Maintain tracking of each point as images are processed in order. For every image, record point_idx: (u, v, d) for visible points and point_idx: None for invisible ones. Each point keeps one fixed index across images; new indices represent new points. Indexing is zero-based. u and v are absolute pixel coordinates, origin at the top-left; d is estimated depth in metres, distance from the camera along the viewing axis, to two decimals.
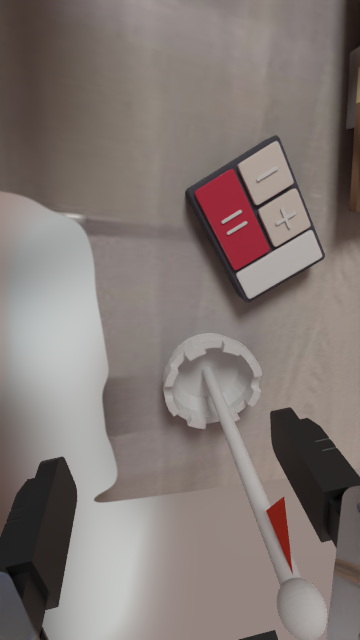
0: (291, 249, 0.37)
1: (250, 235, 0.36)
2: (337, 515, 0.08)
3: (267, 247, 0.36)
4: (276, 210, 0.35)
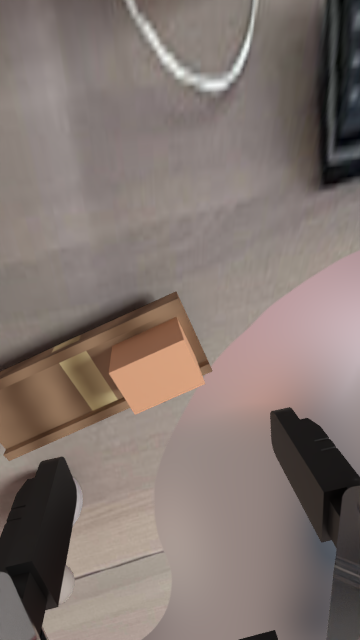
0: None
1: None
2: (337, 515, 0.08)
3: None
4: None
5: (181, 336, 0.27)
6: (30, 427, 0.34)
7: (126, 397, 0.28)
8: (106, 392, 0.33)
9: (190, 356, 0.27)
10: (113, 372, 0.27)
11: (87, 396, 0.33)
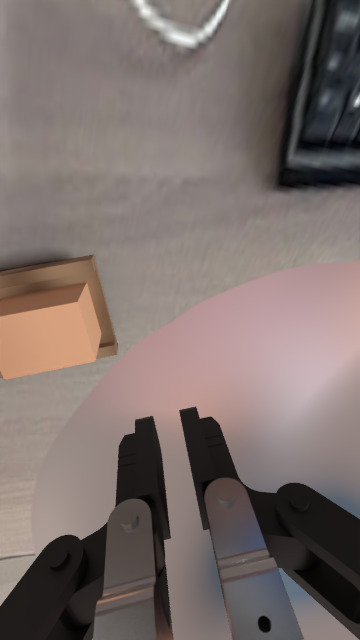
0: None
1: None
2: (205, 504, 0.09)
3: None
4: None
5: (77, 299, 0.23)
6: None
7: None
8: None
9: (82, 324, 0.23)
10: None
11: None
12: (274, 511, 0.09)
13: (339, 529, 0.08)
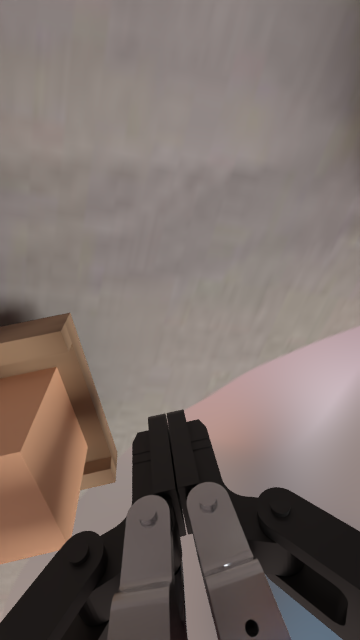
0: None
1: None
2: None
3: None
4: None
5: (23, 436, 0.10)
6: None
7: None
8: None
9: (36, 490, 0.11)
10: None
11: None
12: (256, 516, 0.09)
13: (321, 531, 0.08)
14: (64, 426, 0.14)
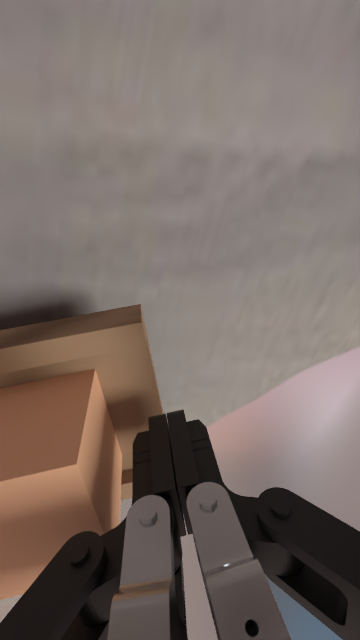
0: None
1: None
2: None
3: None
4: None
5: (76, 446, 0.09)
6: None
7: None
8: None
9: (89, 507, 0.09)
10: None
11: None
12: (256, 516, 0.09)
13: (321, 532, 0.08)
14: (105, 433, 0.13)
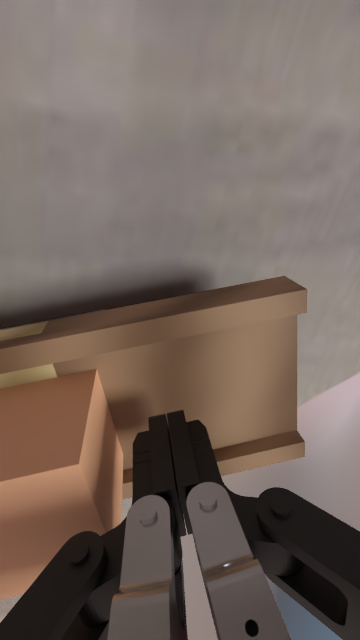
0: None
1: None
2: None
3: None
4: None
5: (78, 446, 0.09)
6: None
7: None
8: None
9: (91, 507, 0.09)
10: None
11: None
12: (256, 516, 0.09)
13: (321, 532, 0.08)
14: (106, 433, 0.13)
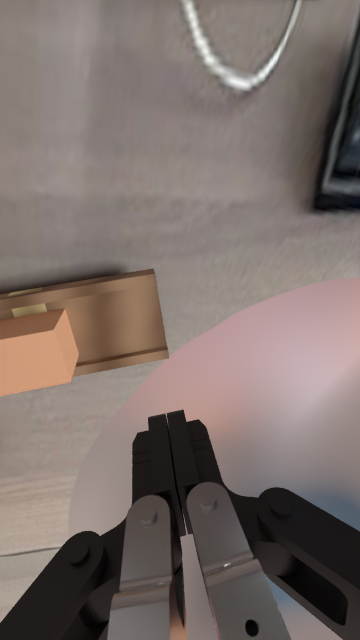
0: None
1: None
2: None
3: None
4: None
5: (53, 326, 0.26)
6: None
7: None
8: None
9: (58, 349, 0.26)
10: None
11: None
12: (256, 516, 0.09)
13: (321, 531, 0.08)
14: (68, 335, 0.29)
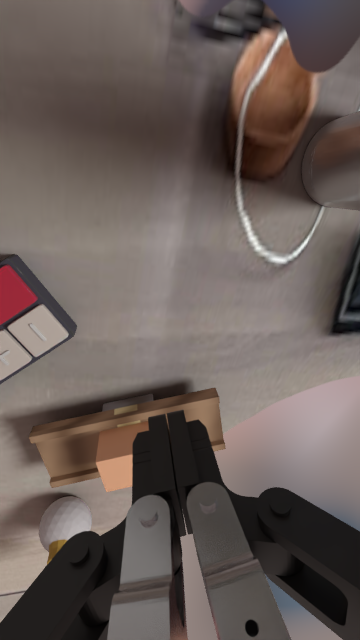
0: None
1: None
2: None
3: None
4: (6, 346, 0.36)
5: None
6: (76, 464, 0.42)
7: (103, 479, 0.38)
8: None
9: None
10: (99, 462, 0.36)
11: None
12: (256, 516, 0.09)
13: (321, 532, 0.08)
14: None
